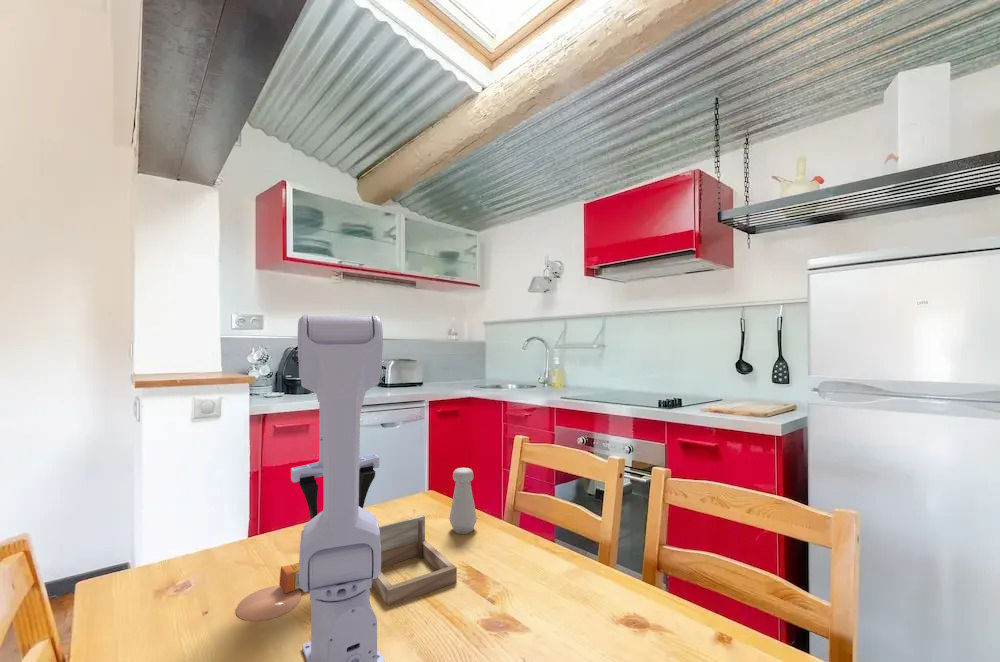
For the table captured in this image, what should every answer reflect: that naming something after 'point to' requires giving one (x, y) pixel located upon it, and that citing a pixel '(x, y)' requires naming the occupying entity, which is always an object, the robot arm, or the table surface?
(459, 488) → the salt shaker
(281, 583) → the supplement box
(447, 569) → the brown open rectangular frame
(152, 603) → the table surface
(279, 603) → the saucer
